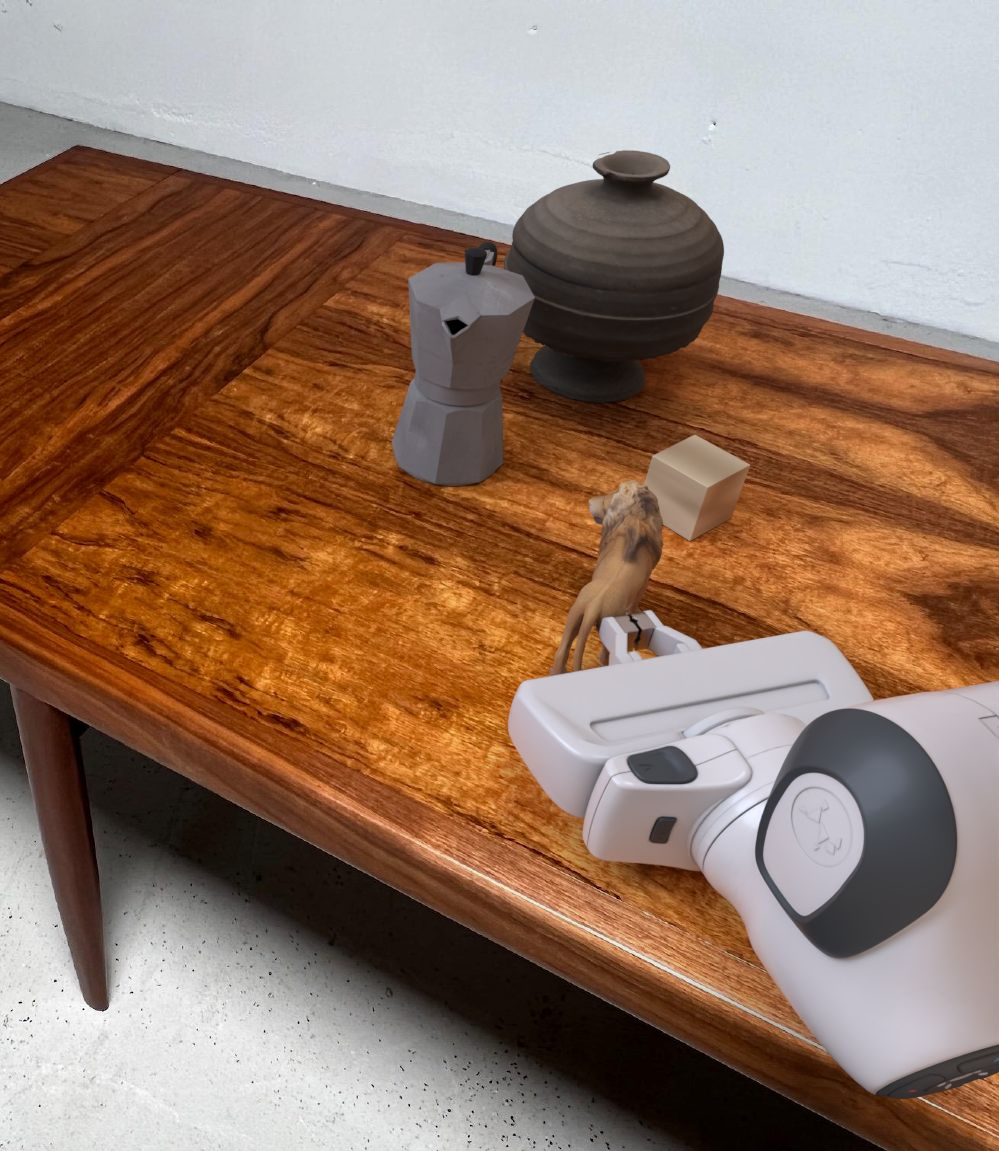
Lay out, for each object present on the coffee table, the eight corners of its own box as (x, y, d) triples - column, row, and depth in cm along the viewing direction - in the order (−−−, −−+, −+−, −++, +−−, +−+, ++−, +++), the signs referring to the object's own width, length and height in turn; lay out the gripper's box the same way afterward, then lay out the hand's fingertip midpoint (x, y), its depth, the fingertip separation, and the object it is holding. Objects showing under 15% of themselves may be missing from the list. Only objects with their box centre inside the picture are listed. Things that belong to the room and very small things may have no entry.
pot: (453, 390, 100) (500, 160, 88) (516, 323, 113) (564, 114, 101) (656, 451, 93) (736, 211, 81) (698, 372, 106) (773, 155, 94)
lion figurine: (572, 563, 83) (598, 462, 77) (648, 580, 81) (680, 478, 75) (540, 700, 72) (566, 594, 66) (625, 722, 71) (660, 616, 65)
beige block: (678, 487, 90) (694, 434, 87) (731, 518, 87) (750, 464, 83) (636, 508, 88) (652, 455, 84) (689, 541, 85) (708, 487, 81)
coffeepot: (489, 512, 87) (528, 298, 76) (371, 488, 90) (391, 277, 78) (520, 412, 98) (558, 212, 87) (413, 393, 101) (437, 196, 89)
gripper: (942, 718, 60) (786, 557, 70) (590, 789, 56) (480, 608, 66) (896, 794, 64) (755, 631, 74) (565, 864, 60) (465, 683, 71)
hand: (623, 621), depth 70 cm, fingers closed
